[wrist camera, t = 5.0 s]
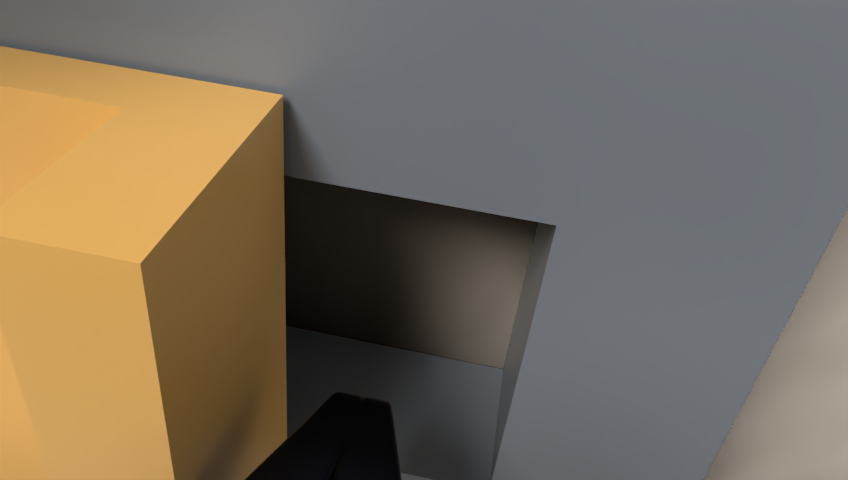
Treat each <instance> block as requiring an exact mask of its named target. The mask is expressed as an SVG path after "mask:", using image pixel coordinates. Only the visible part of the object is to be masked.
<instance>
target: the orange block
mask: <svg viewBox="0 0 848 480" xmlns="http://www.w3.org/2000/svg"><path fill="white" fill-rule="evenodd" d="M286 439H287V386H286V301H285V215H284V129H283V95H281V94H275V93H269V92H263V91H258V90H252V89H246V88H240V87H234V86H229V85H223V84H217V83H211V82H206V81H200V80H194V79H188V78H182V77H177V76H171V75H165V74H159V73H154V72H148V71H142V70H136V69H131V68H125V67H119V66H113V65H107V64H102V63H96V62H90V61H84V60H79V59H73V58H67V57H61V56H55V55H50V54H44V53H38V52H32V51H27V50H21V49H15V48H9V47H4V46H0V480H245V479H246V478H247V477H248V476H249V475H250V474H251V473H252V472H253V471H254V470H255V469H256V468H257V467H258V466H259V465H260V464H261V463H262V462H263V461H264V460H265V459H266V458H267V457H268V456H269V455H270V454H271V453H273V452H274V451H275V450H276V449H277V448H278V447H279V446H280V445H281V444H282V443H283V442H284V441H285V440H286Z"/></svg>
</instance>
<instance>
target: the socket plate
mask: <svg viewBox="0 0 848 480" xmlns="http://www.w3.org/2000/svg"><path fill="white" fill-rule="evenodd" d="M0 46H4V47H9V48H15V49H21V50H27V51H32V52H38V53H44V54H50V55H55V56H61V57H67V58H73V59H79V60H84V61H90V62H96V63H102V64H107V65H113V66H119V67H125V68H131V69H136V70H142V71H148V72H154V73H159V74H165V75H171V76H177V77H182V78H188V79H194V80H200V81H206V82H211V83H217V84H223V85H229V86H234V87H240V88H246V89H252V90H258V91H263V92H269V93H275V94H281V95H283V129H284V176H288V177H294V178H299V179H305V180H310V181H316V182H321V183H326V184H332V185H337V186H343V187H348V188H354V189H359V190H365V191H370V192H376V193H381V194H387V195H392V196H398V197H403V198H408V199H414V200H419V201H425V202H430V203H436V204H441V205H447V206H452V207H458V208H463V209H469V210H474V211H480V212H485V213H490V214H496V215H501V216H507V217H512V218H518V219H523V220H529V221H534V222H538V225H537V229H536V233H535V237H534V242H533V246H532V250H531V254H530V259H529V263H528V267H527V271H526V276H525V280H524V284H523V288H522V292H521V297H520V301H519V305H518V309H517V314H516V318H515V322H514V326H513V331H512V335H511V339H510V343H509V348H508V352H507V356H506V360H505V364H504V369H499V368H494V367H489V366H484V365H479V364H474V363H469V362H464V361H459V360H454V359H449V358H444V357H439V356H434V355H429V354H424V353H419V352H414V351H409V350H404V349H399V348H394V347H389V346H384V345H379V344H374V343H369V342H364V341H359V340H354V339H349V338H344V337H339V336H334V335H329V334H324V333H319V332H314V331H309V330H305V329H300V328H295V327H290V326H286V386H287V438H288V437H289V436H290V435H291V434H292V433H293V432H294V431H295V430H296V429H297V428H298V427H299V426H300V425H301V424H302V423H303V422H304V421H305V420H307V419H308V418H309V417H310V416H311V415H312V414H313V413H314V412H315V411H316V410H317V409H318V408H319V407H320V406H321V405H322V404H323V403H324V402H325V401H326V400H327V399H328V398H329V397H330V396H331V395H332V394H334V393H335V392H345V393H350V394H355V395H360V396H362V397H363V398H365V397H370V398H375V399H380V400H385V401H388V402H390V403H391V405H392V410H393V418H394V425H395V433H396V440H397V447H398V455H399V462H400V470H401V477H402V480H703V479H704V477H705V475H706V473H707V472H708V470H709V468H710V466H711V464H712V462H713V460H714V458H715V456H716V455H717V453H718V451H719V449H720V447H721V445H722V443H723V441H724V440H725V438H726V436H727V434H728V432H729V430H730V428H731V426H732V424H733V423H734V421H735V419H736V417H737V415H738V413H739V411H740V409H741V408H742V406H743V404H744V402H745V400H746V398H747V396H748V394H749V392H750V391H751V389H752V387H753V385H754V383H755V381H756V379H757V377H758V375H759V374H760V372H761V370H762V368H763V366H764V364H765V362H766V360H767V359H768V357H769V355H770V353H771V351H772V349H773V347H774V345H775V343H776V342H777V340H778V338H779V336H780V334H781V332H782V330H783V328H784V327H785V325H786V323H787V321H788V319H789V317H790V315H791V313H792V311H793V310H794V308H795V306H796V304H797V302H798V300H799V298H800V296H801V294H802V293H803V291H804V289H805V287H806V285H807V283H808V281H809V279H810V278H811V276H812V274H813V272H814V270H815V268H816V266H817V264H818V262H819V261H820V259H821V257H822V255H823V253H824V251H825V249H826V247H827V246H828V244H829V242H830V240H831V238H832V236H833V234H834V232H835V230H836V229H837V227H838V225H839V223H840V221H841V219H842V217H843V215H844V214H845V212H846V210H847V208H848V0H0Z"/></svg>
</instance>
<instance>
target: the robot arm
mask: <svg viewBox="0 0 848 480" xmlns="http://www.w3.org/2000/svg"><path fill="white" fill-rule="evenodd" d="M245 480H402V477H401V470H400V462H399V455H398V447H397V440H396V433H395V425H394V418H393V410H392V405H391V403H390V402H388V401H385V400H380V399H375V398H370V397H365V398H363V397H362V396H360V395H355V394H350V393H345V392H335V393H334V394H332V395H331V396H330V397H329V398H328V399H327V400H326V401H325V402H324V403H323V404H322V405H321V406H320V407H319V408H318V409H317V410H316V411H315V412H314V413H313V414H312V415H311V416H310V417H309V418H308V419H307V420H305V421H304V422H303V423H302V424H301V425H300V426H299V427H298V428H297V429H296V430H295V431H294V432H293V433H292V434H291V435H290V436H289V437H288V438H287V439H286V440H285V441H284V442H283V443H282V444H281V445H280V446H279V447H278V448H277V449H276V450H275V451H274V452H273V453H271V454H270V455H269V456H268V457H267V458H266V459H265V460H264V461H263V462H262V463H261V464H260V465H259V466H258V467H257V468H256V469H255V470H254V471H253V472H252V473H251V474H250V475H249V476H248V477H247V478H246V479H245Z"/></svg>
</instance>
